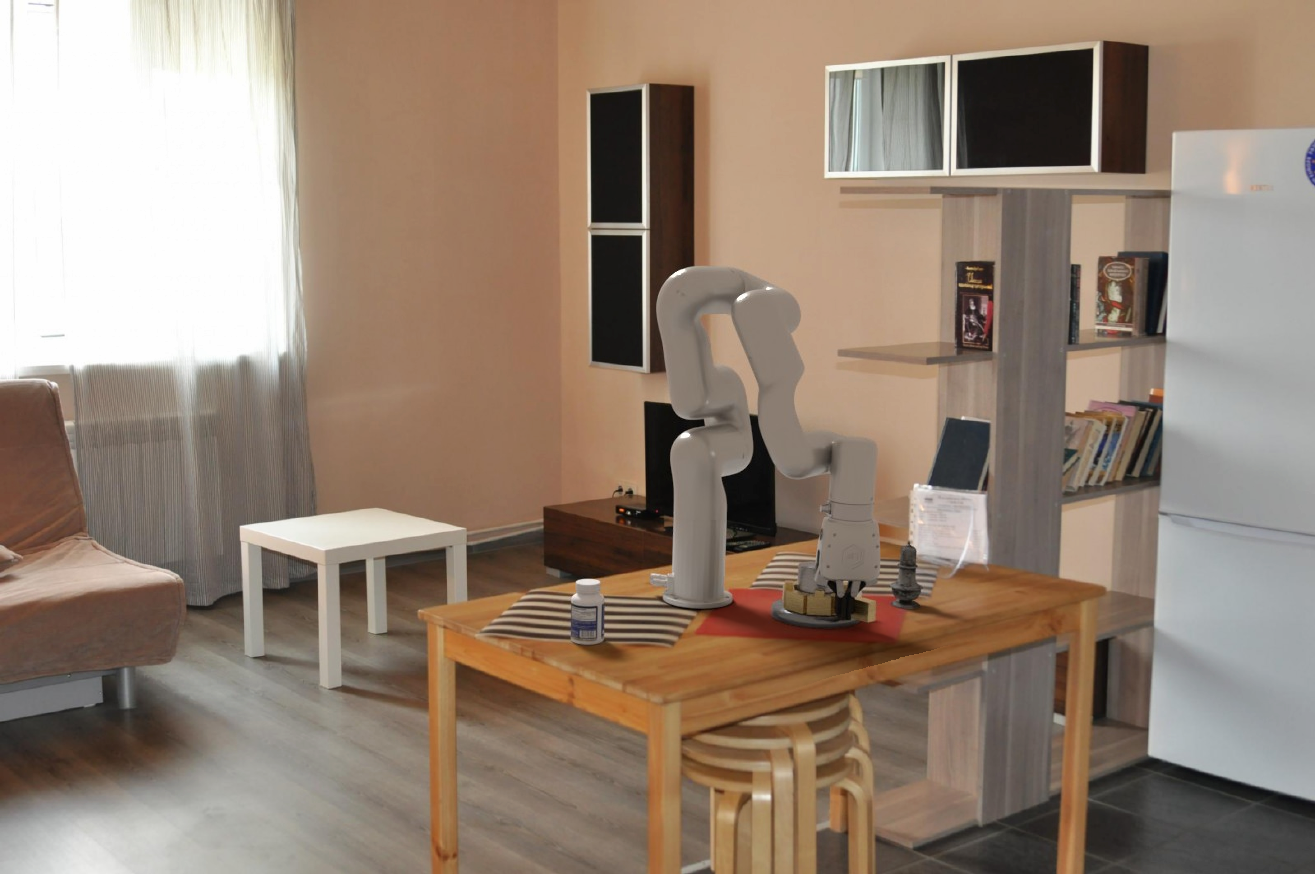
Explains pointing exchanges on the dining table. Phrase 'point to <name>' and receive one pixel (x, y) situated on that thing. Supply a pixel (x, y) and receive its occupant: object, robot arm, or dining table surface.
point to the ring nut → (823, 603)
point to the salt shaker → (906, 580)
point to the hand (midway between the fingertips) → (843, 618)
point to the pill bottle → (587, 613)
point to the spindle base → (803, 620)
